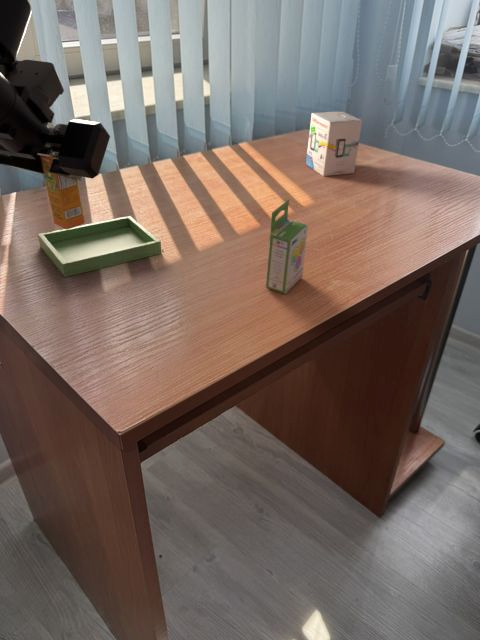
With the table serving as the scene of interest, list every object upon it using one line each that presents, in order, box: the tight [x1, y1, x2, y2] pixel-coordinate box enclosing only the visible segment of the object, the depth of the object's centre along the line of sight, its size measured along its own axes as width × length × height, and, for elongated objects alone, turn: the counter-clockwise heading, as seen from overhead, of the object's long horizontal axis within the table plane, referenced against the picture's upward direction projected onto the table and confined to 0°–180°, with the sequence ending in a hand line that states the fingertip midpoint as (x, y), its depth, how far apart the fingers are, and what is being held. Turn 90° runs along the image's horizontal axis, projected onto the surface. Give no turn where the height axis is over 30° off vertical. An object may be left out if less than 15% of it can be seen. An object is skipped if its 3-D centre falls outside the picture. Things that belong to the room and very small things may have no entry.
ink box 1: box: [265, 199, 309, 295], centre depth 74 cm, size 6×4×12 cm, turn 153°
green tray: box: [37, 215, 162, 278], centre depth 82 cm, size 15×11×2 cm
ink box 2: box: [305, 110, 363, 177], centre depth 118 cm, size 8×8×12 cm
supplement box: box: [40, 154, 86, 229], centre depth 71 cm, size 3×3×10 cm
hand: (67, 174), depth 71 cm, fingers closed on supplement box, 4 cm apart
